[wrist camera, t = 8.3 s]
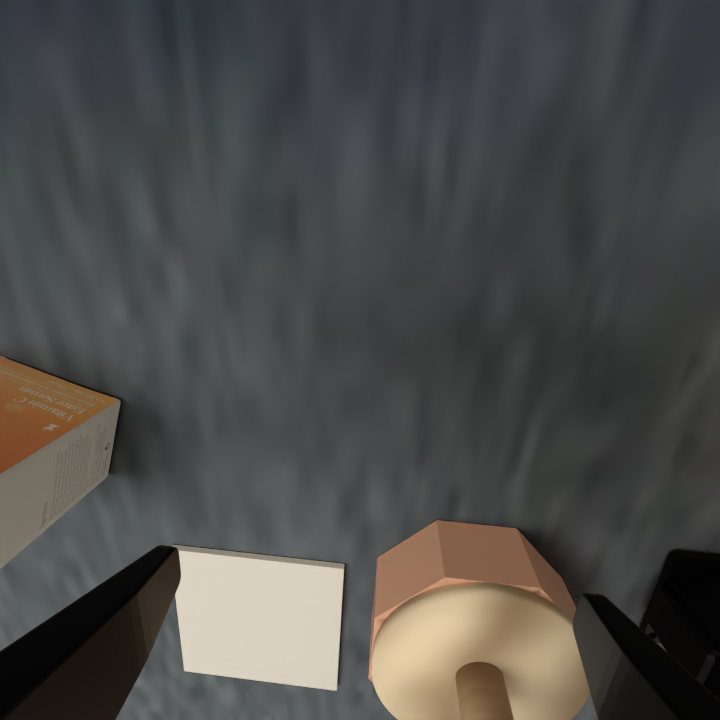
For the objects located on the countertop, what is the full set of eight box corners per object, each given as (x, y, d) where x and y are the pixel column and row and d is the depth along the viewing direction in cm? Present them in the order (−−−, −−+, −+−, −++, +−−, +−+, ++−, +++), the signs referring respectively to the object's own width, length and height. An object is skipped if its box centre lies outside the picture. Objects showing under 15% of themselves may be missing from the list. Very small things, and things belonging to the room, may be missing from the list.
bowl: (574, 534, 23) (610, 595, 19) (535, 668, 26) (559, 742, 23) (381, 514, 23) (379, 569, 20) (368, 648, 27) (364, 716, 23)
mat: (344, 563, 25) (343, 569, 24) (337, 684, 28) (336, 690, 28) (173, 544, 25) (170, 549, 25) (187, 665, 29) (184, 671, 29)
